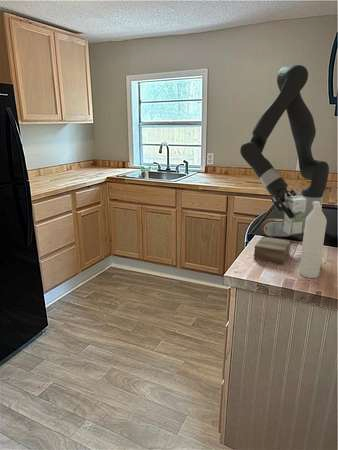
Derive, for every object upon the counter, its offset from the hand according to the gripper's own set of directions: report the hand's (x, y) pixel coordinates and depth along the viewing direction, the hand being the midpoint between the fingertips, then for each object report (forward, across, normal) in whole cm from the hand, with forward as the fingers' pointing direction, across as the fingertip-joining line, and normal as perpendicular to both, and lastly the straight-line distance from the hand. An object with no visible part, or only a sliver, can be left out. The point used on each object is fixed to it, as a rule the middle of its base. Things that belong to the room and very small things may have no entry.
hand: (297, 215), depth 127 cm
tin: (+2, +10, +21) cm, 23 cm away
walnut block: (+9, -12, +13) cm, 20 cm away
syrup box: (+5, 0, +6) cm, 8 cm away
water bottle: (+20, -14, +2) cm, 25 cm away
